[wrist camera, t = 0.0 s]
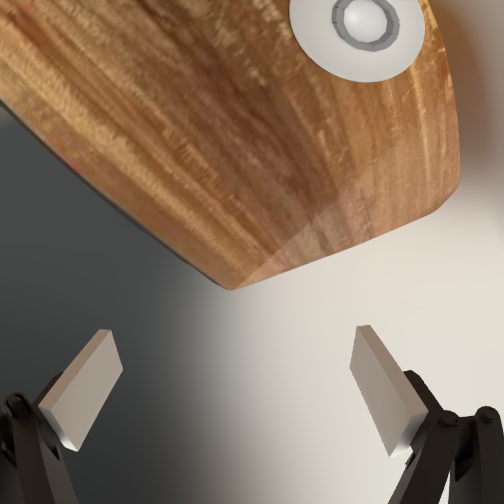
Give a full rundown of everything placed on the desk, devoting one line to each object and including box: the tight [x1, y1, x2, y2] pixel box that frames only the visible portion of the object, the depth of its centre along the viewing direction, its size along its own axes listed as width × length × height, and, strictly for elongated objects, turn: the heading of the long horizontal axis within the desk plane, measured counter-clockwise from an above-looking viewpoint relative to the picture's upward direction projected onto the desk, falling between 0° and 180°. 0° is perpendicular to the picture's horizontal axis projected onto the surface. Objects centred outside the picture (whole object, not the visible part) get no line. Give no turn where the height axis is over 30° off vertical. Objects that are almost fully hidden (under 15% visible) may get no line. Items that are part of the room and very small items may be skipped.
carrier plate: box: [289, 0, 425, 82], centre depth 25 cm, size 20×20×3 cm
